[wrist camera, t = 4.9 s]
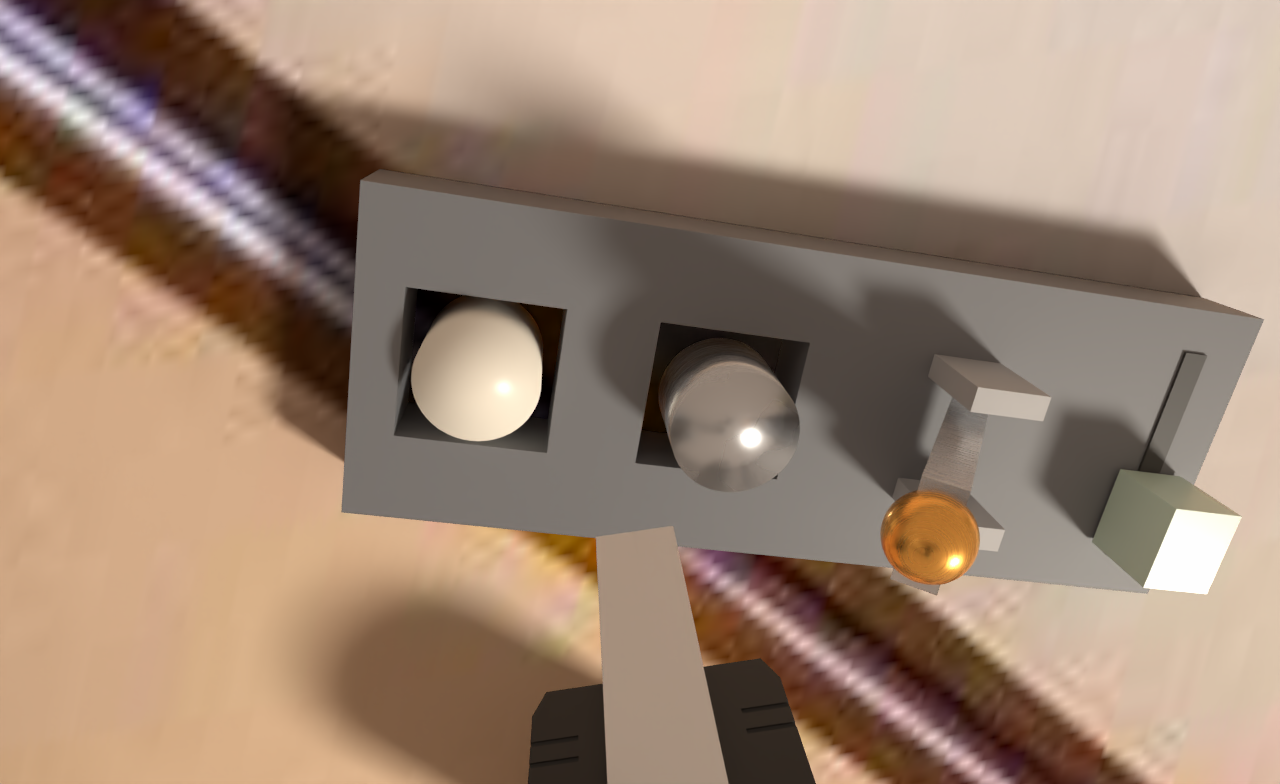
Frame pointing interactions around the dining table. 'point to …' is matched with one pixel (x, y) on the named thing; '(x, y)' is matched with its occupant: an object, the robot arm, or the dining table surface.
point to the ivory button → (479, 368)
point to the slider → (1165, 531)
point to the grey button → (727, 415)
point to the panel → (807, 368)
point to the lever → (938, 509)
